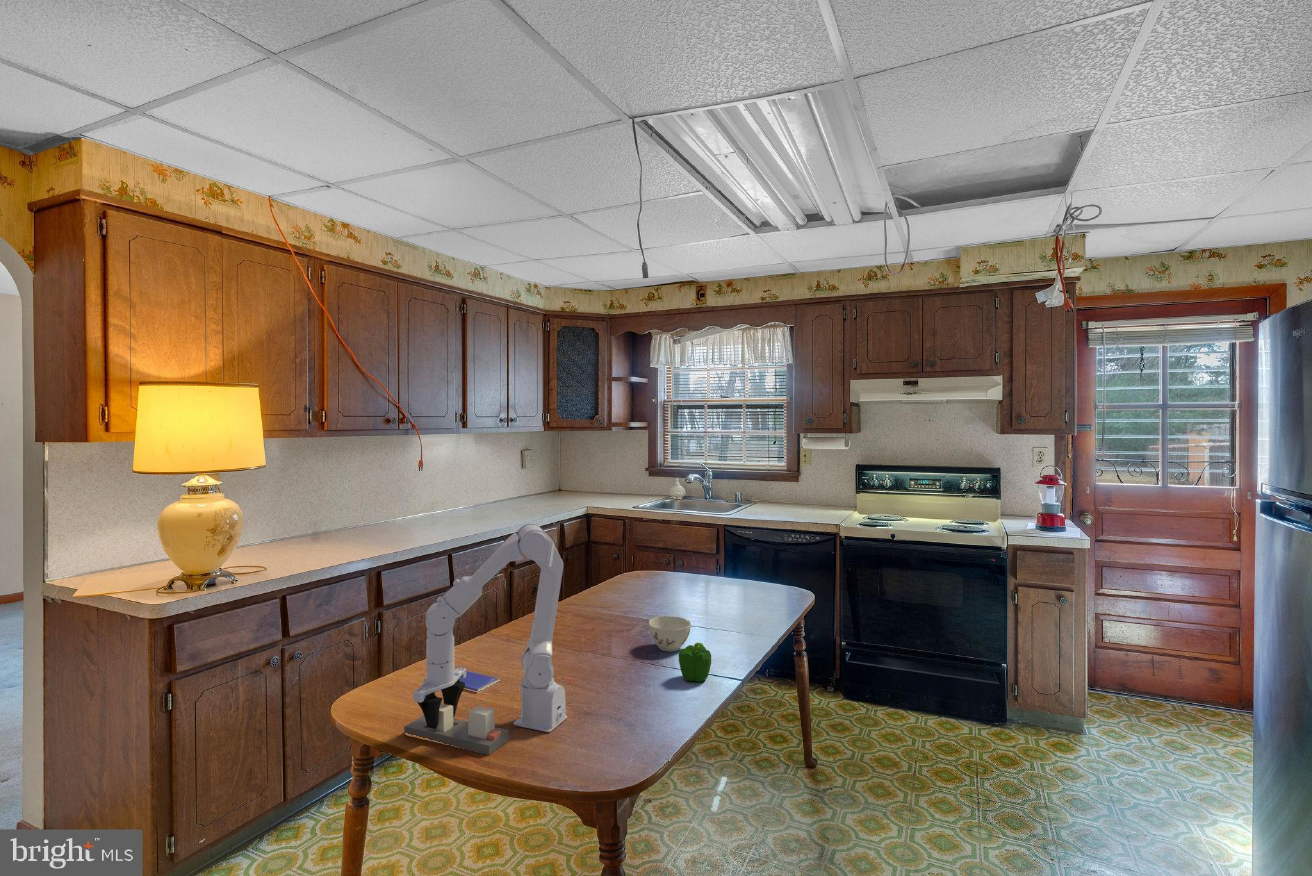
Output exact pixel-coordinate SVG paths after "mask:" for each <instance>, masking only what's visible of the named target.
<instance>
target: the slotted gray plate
mask: <svg viewBox="0 0 1312 876" xmlns="http://www.w3.org/2000/svg"><path fill="white" fill-rule="evenodd" d="M467 716H468V717H467V721H466V720H462V719H457V718H453V727H452V728H451V729H449V730H448V731H446V732H443V731H438V730H434V729H429V728H428V727H427V723H426V720H425V717H424V714H422V715H420V716H419V717H418V718H416V719H415V720H412V721H411V722H409V723H408V724H406V725H405V726H404V725H403V729H404V730H403V732H404V733H408V734H411V735H416V736H419V737H423V738H428V739H430V740H435V741H438V742H442V743H444V744H449V745H453V746H457V747H460V748H464V749H467V750H466V751H468V750H470V751H469V752H473V751H476V752H475V753H477V752H479V753H478V754H481V753H482V755H486V756H490V755H492V754H493V753H494V752H495V751H497V750H498V749H499V748H501V747H502V746H504V744H506V743H507V742H509V740H510V729H505V728H499V727H496V725H495V708H490V707H485V706H480V705H476V706H475V707H473V708H471V709H470V710H468V711H467ZM505 742H506V743H505ZM500 746H501V747H500ZM460 748H459V749H460ZM464 749H463V750H464ZM496 749H497V750H496ZM493 751H494V752H493ZM491 753H492V754H491Z"/></svg>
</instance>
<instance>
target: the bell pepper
mask: <svg viewBox="0 0 1312 876" xmlns="http://www.w3.org/2000/svg"><path fill="white" fill-rule="evenodd" d="M678 663H679V667H680V672H681V675H682V677H683V679H684V680H685V681H686V682H693V681H695V682H697V683H698V682H699V683H701V682H705V681H706V680H707V678H708V677H709V673H710V670H711V667H712V666H711V665H712V654H711V651H710V650H709V649H707V648H706V647H705V646H704V643H702V642H700V641H699V642H696V643H694V645H693V644H692V645H691V644H689V645H687V646H686V647H684V648H681V649H680V648H679V650H678Z"/></svg>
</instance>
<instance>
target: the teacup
mask: <svg viewBox="0 0 1312 876" xmlns="http://www.w3.org/2000/svg"><path fill="white" fill-rule="evenodd" d="M691 627H692V623H691V621H690V620H687V619H686V618H684V617H681V616H673V615H672V616H671V615H670V616H667V615H661V616H655V617H652V618H650V620H648V630H649V633H650V636H651V638H652V640H653V642H654V644H655V645H656V646H657V647H658V649H660V650H661V651H664V652H668V653H669V652H673V653H674V652H676V651H680V648H682V646H683V645H684V644H685V643H686V642H687V640H688V637H689V635H690V632H691Z"/></svg>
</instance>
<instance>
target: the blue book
mask: <svg viewBox="0 0 1312 876" xmlns="http://www.w3.org/2000/svg"><path fill="white" fill-rule="evenodd" d="M460 681H461V682H465V689H470V690H474V691H476V692H478V691H480V690H483V689H485V688H486V687H489V686H490V685H493V684H494V683H496V682H498V681H500V682H501V679H500V678H499V677H494V676H489V675H485V674H481V673H477V672H473V671H470V670H469V671H468V670H466V677H465V678H460ZM493 686H494V685H493ZM489 688H490V687H489ZM485 690H486V689H485ZM483 691H484V690H483Z"/></svg>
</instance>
